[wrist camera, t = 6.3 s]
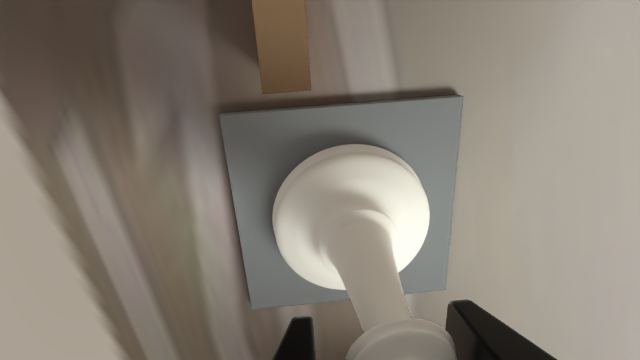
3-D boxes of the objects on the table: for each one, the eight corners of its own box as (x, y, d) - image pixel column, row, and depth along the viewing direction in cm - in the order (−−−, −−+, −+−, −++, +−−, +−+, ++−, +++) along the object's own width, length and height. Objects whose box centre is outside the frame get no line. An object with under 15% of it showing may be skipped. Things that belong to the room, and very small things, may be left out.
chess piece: (434, 256, 13) (783, 809, 4) (297, 294, 13) (338, 920, 4) (411, 123, 11) (1022, 636, 2) (250, 169, 11) (123, 868, 2)
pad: (442, 284, 14) (445, 289, 14) (252, 303, 14) (251, 309, 13) (459, 94, 11) (463, 96, 11) (220, 113, 11) (218, 115, 11)
